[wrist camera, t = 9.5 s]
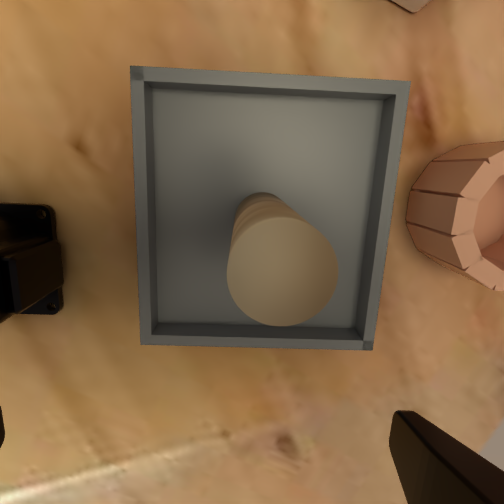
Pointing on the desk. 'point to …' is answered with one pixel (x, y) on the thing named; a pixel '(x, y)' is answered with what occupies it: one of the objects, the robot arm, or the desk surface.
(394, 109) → the tray
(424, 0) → the jar
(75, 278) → the desk surface
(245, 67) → the desk surface
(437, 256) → the cup
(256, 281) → the dowel
